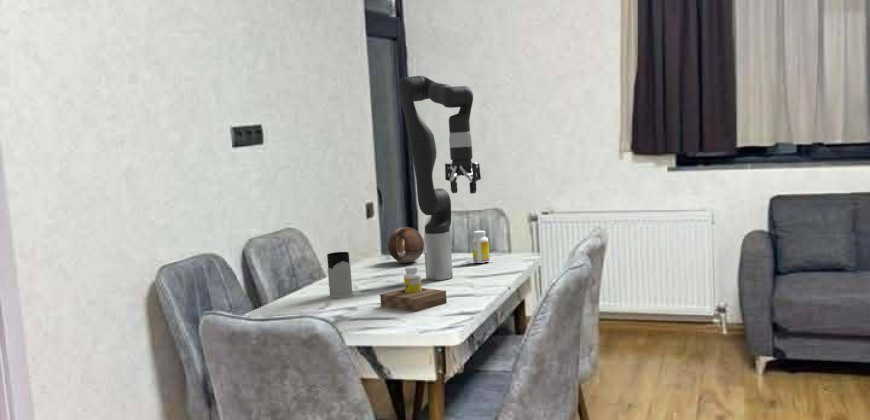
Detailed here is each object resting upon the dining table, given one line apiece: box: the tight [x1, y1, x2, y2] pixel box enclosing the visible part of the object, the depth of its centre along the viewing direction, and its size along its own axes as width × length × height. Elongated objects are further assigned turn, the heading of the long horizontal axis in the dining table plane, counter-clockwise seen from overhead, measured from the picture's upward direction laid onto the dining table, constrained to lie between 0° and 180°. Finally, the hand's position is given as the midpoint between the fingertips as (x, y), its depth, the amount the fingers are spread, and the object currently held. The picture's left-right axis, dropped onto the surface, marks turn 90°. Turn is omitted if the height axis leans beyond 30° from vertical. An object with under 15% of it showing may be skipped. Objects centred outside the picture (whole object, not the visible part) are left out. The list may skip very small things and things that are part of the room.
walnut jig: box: [379, 287, 448, 313], centre depth 286 cm, size 16×14×4 cm
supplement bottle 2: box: [471, 230, 491, 264], centre depth 358 cm, size 7×7×13 cm
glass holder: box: [326, 251, 355, 300], centre depth 311 cm, size 9×14×15 cm, turn 27°
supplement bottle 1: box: [403, 265, 423, 294], centre depth 288 cm, size 5×5×10 cm
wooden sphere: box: [387, 226, 425, 264], centre depth 371 cm, size 15×15×15 cm
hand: (463, 193), depth 303 cm, fingers open, 8 cm apart
